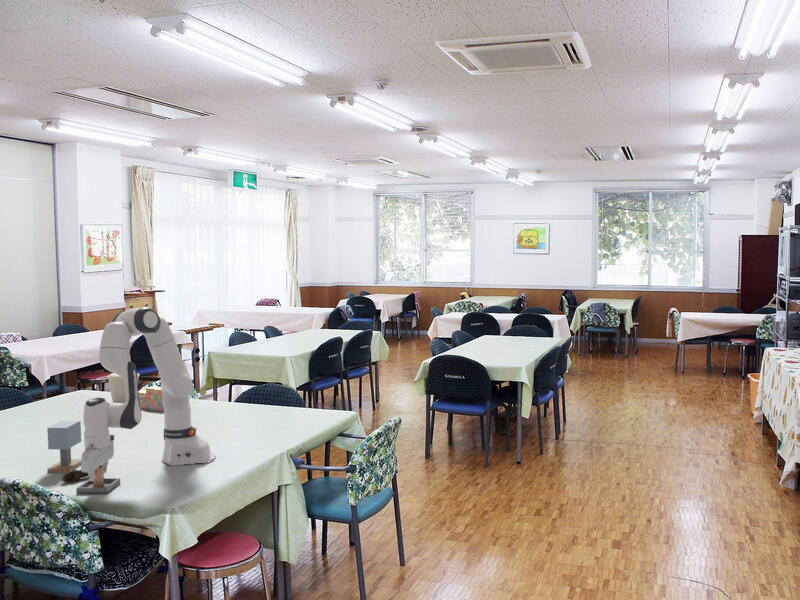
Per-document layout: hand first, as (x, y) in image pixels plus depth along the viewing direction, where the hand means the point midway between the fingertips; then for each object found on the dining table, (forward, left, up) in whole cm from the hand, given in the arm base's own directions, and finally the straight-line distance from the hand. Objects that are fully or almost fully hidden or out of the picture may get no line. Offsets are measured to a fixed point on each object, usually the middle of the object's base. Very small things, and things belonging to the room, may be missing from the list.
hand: (98, 476), depth 275 cm
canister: (+54, -151, -5) cm, 160 cm away
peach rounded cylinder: (0, 0, -4) cm, 4 cm away
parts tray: (0, 0, -5) cm, 5 cm away
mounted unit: (+26, -26, -5) cm, 37 cm away
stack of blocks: (+32, -137, -5) cm, 140 cm away
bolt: (+12, -12, -5) cm, 18 cm away
